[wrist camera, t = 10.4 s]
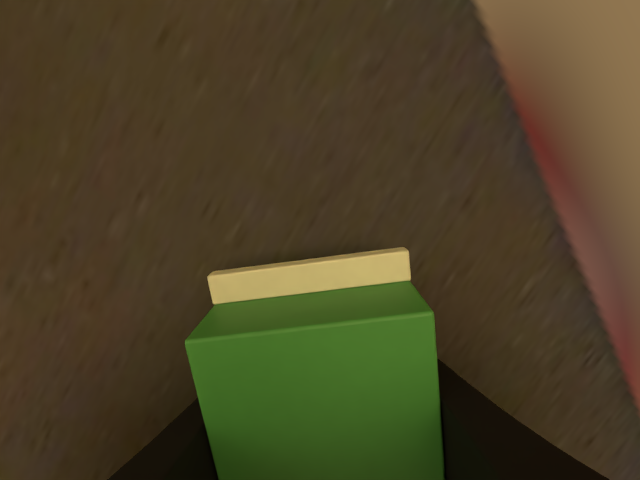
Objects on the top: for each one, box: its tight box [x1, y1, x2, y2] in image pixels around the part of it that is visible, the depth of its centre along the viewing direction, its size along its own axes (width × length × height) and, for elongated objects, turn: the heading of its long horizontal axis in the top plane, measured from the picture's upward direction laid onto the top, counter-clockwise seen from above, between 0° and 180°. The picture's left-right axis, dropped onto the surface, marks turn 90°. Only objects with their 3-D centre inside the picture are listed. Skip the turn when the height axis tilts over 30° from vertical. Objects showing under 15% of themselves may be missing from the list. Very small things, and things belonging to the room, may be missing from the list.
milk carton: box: [185, 247, 445, 480], centre depth 8 cm, size 8×4×4 cm, turn 8°
